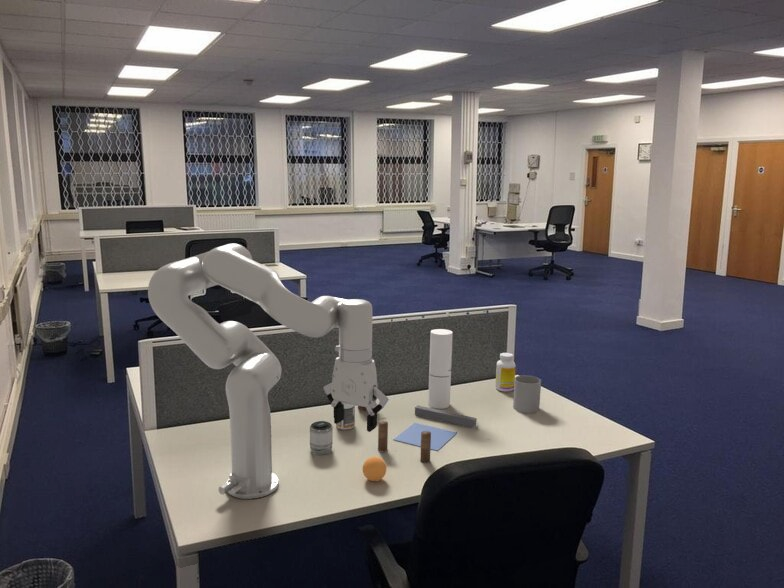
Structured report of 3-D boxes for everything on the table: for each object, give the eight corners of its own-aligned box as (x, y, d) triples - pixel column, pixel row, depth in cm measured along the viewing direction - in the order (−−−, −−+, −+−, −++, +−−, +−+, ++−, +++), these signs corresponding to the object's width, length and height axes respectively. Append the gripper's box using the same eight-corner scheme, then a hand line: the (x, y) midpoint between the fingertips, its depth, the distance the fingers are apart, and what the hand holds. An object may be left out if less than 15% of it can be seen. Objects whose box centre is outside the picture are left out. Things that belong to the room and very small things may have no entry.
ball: (378, 488, 155) (379, 465, 154) (357, 481, 158) (358, 459, 156) (390, 477, 160) (390, 455, 159) (370, 472, 163) (370, 450, 162)
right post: (427, 463, 168) (428, 435, 166) (418, 461, 169) (419, 433, 167) (431, 459, 170) (432, 432, 168) (422, 457, 171) (423, 430, 170)
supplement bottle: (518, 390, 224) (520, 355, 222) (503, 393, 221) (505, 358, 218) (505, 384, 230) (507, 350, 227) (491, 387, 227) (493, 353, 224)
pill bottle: (356, 423, 193) (356, 392, 191) (353, 431, 188) (353, 399, 186) (337, 422, 194) (337, 391, 192) (334, 429, 188) (334, 398, 186)
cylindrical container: (453, 403, 211) (456, 331, 206) (443, 410, 205) (446, 335, 200) (434, 399, 214) (437, 327, 209) (424, 405, 208) (426, 332, 203)
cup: (511, 411, 205) (513, 382, 203) (514, 402, 213) (516, 374, 211) (538, 414, 203) (540, 385, 201) (540, 405, 210) (542, 377, 208)
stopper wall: (473, 428, 191) (474, 420, 191) (414, 414, 201) (415, 407, 200) (476, 425, 193) (476, 418, 192) (417, 412, 202) (417, 405, 202)
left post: (384, 452, 174) (385, 425, 172) (376, 450, 175) (376, 423, 173) (389, 448, 176) (389, 422, 175) (380, 446, 177) (381, 420, 176)
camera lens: (305, 449, 175) (305, 422, 173) (324, 443, 179) (324, 417, 177) (318, 457, 170) (317, 430, 169) (337, 451, 174) (337, 424, 173)
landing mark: (437, 451, 175) (437, 450, 175) (393, 440, 182) (393, 439, 182) (457, 433, 187) (457, 432, 187) (414, 423, 194) (414, 422, 194)
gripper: (314, 352, 144) (315, 423, 148) (380, 364, 136) (379, 439, 140) (332, 344, 151) (332, 413, 154) (396, 355, 143) (395, 427, 146)
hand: (355, 425), depth 147 cm, fingers open, 8 cm apart
